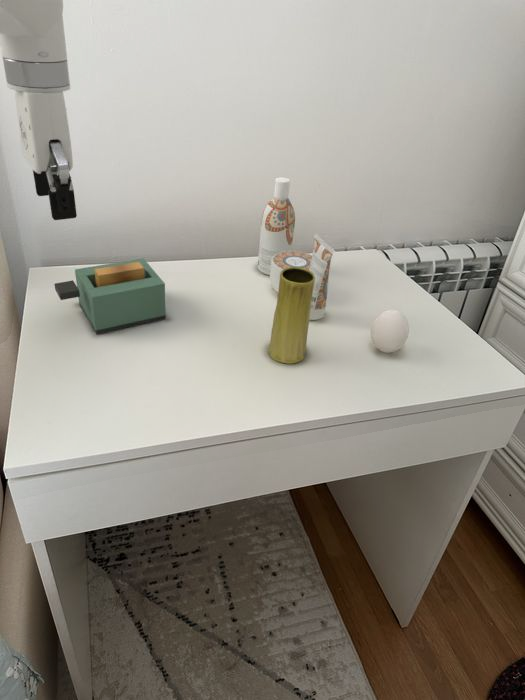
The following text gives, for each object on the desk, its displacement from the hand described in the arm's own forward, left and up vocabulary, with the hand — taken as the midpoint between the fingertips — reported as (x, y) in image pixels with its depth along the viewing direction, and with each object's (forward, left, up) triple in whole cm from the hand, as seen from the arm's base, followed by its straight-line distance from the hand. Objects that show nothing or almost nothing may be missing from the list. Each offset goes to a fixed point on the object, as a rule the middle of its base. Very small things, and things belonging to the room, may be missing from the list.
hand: (56, 206), depth 77 cm
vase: (+28, -22, -20) cm, 41 cm away
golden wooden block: (+9, 0, -19) cm, 21 cm away
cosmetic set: (+40, -5, -20) cm, 45 cm away
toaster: (+8, 0, -20) cm, 22 cm away
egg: (+44, -28, -20) cm, 56 cm away
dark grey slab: (0, 0, -14) cm, 15 cm away
